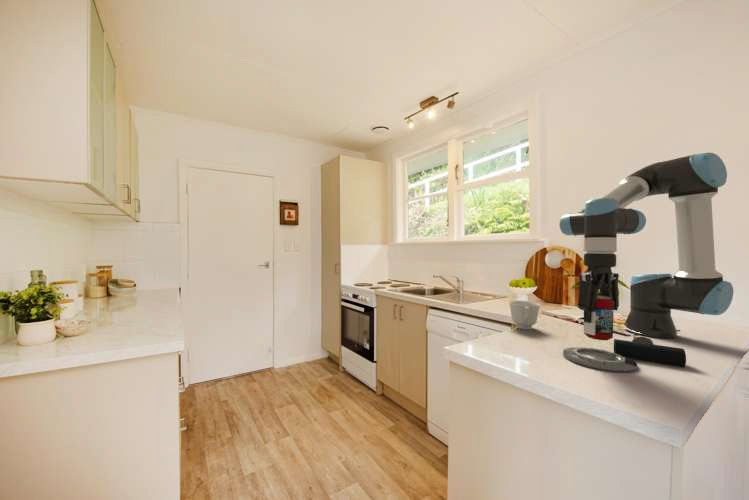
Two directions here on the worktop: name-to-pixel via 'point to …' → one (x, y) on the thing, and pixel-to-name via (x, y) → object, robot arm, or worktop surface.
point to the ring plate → (600, 359)
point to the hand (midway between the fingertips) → (598, 332)
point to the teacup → (524, 313)
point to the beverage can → (603, 318)
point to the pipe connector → (650, 351)
